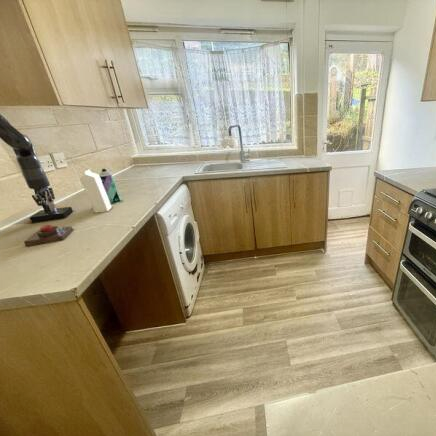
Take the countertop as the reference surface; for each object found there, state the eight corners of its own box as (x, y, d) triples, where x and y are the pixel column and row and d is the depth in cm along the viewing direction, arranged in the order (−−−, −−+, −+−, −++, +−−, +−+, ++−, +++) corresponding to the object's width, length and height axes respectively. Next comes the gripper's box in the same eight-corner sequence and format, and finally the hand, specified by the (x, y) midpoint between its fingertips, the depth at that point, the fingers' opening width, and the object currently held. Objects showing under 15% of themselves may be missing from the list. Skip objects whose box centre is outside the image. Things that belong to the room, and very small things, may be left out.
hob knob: (54, 212, 122) (50, 202, 120) (43, 213, 120) (38, 203, 118) (58, 209, 126) (54, 199, 123) (47, 210, 124) (43, 201, 122)
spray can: (111, 202, 144) (98, 168, 135) (122, 200, 146) (109, 167, 137) (110, 205, 139) (96, 170, 131) (121, 202, 141) (108, 169, 133)
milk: (112, 208, 134) (96, 168, 125) (108, 212, 129) (91, 170, 119) (99, 209, 132) (82, 169, 123) (94, 213, 127) (77, 172, 118)
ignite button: (39, 233, 99) (37, 229, 98) (44, 229, 102) (42, 225, 101) (50, 231, 100) (49, 227, 100) (54, 228, 103) (53, 224, 103)
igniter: (26, 246, 96) (21, 237, 95) (39, 235, 105) (35, 227, 103) (63, 240, 100) (59, 232, 99) (73, 230, 109) (69, 222, 107)
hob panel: (32, 223, 118) (29, 217, 116) (42, 215, 126) (39, 210, 125) (65, 218, 122) (62, 212, 121) (73, 211, 131) (70, 206, 129)
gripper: (33, 175, 121) (48, 207, 128) (16, 181, 109) (33, 217, 115) (52, 173, 123) (66, 205, 130) (37, 179, 111) (53, 214, 118)
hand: (50, 210), depth 123 cm, fingers closed on hob knob, 4 cm apart
